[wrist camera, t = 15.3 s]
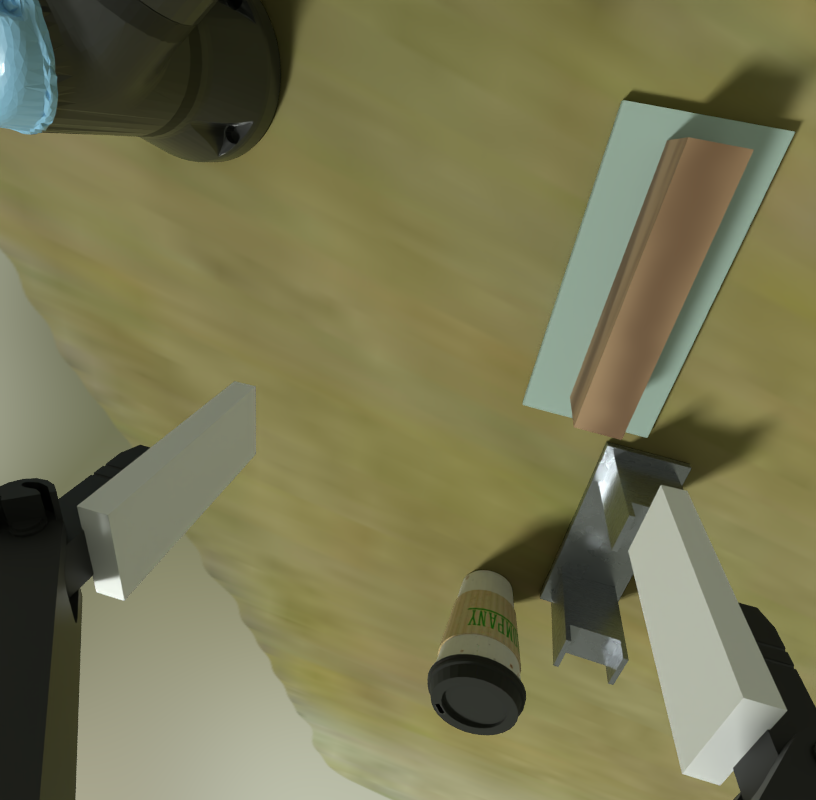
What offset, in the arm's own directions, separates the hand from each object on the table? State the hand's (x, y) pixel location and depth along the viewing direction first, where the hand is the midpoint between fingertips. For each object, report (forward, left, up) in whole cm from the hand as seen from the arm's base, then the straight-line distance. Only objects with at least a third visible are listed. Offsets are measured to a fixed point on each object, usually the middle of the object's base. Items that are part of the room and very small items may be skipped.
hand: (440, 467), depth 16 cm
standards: (+18, -25, -33) cm, 45 cm away
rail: (+11, +1, -32) cm, 34 cm away
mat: (+11, +1, -33) cm, 35 cm away
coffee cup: (+8, -38, -33) cm, 51 cm away
